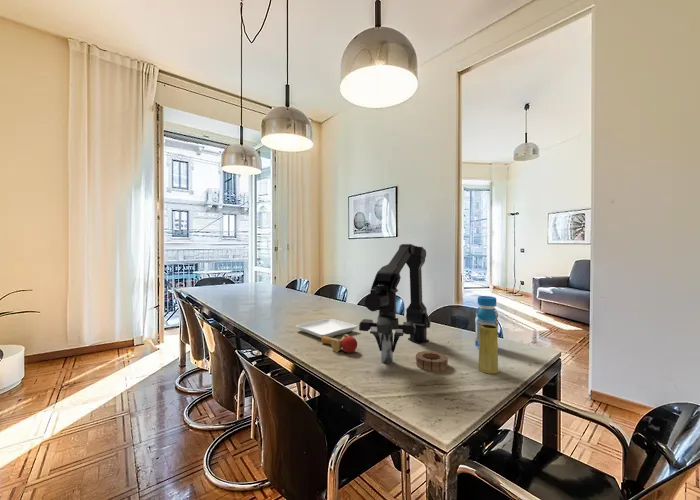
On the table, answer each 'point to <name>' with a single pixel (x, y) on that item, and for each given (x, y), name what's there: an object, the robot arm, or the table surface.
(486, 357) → the vase
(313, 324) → the salad plate
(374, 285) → the robot arm
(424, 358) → the bead ring
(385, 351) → the grey metal cylinder
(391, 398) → the table surface
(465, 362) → the table surface
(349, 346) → the kendama
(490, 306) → the beverage bottle
